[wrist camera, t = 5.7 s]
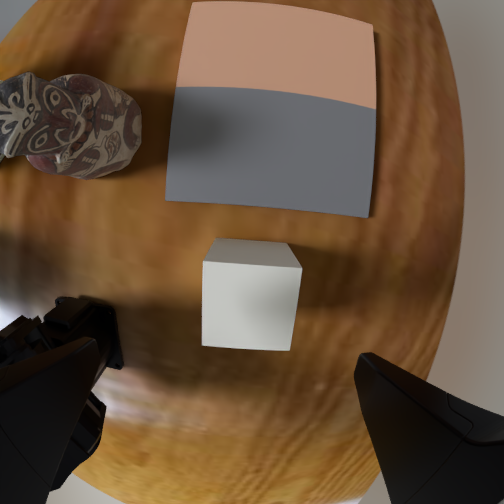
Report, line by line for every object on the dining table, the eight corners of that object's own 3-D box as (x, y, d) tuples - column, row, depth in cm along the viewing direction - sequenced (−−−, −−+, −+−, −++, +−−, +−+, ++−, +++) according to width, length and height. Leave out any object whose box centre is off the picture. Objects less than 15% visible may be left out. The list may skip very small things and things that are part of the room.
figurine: (113, 195, 19) (-8, 220, 7) (55, 156, 18) (-58, 157, 6) (161, 111, 17) (67, 44, 6) (95, 79, 16) (-3, 27, 5)
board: (362, 216, 19) (368, 218, 18) (169, 199, 19) (165, 200, 18) (368, 29, 15) (372, 24, 14) (194, 8, 15) (192, 2, 14)
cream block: (278, 306, 21) (289, 350, 15) (213, 302, 21) (202, 345, 15) (286, 242, 20) (302, 268, 14) (215, 237, 20) (203, 261, 14)
